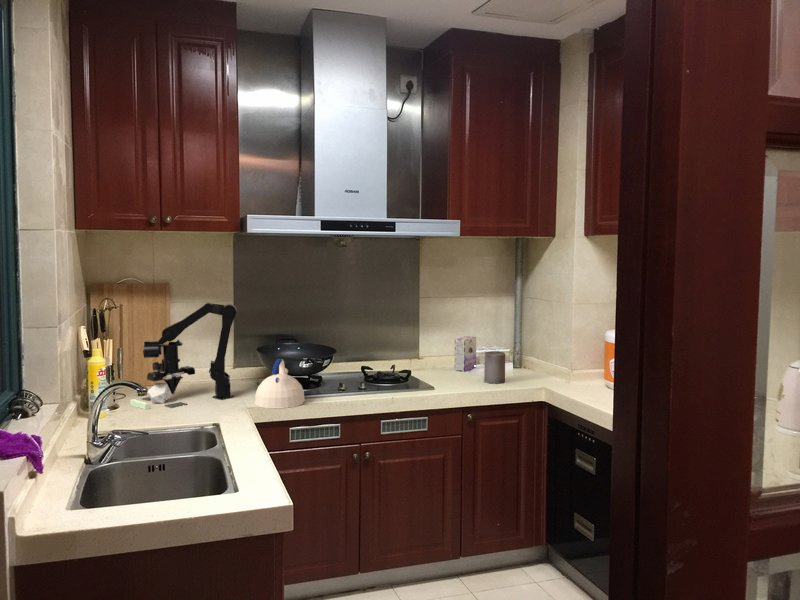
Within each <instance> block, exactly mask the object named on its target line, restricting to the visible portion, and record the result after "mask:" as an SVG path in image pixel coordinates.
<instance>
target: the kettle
mask: <svg viewBox="0 0 800 600" xmlns="http://www.w3.org/2000/svg"><path fill="white" fill-rule="evenodd" d="M271 371H272V372H271V375H270V376H267V377H266V378H264V379H263V380H262V381H261V383H260V384H259V385H258V386H257V389H256V392H255V398H254V405H255V404H256V405H258V406H257V407H260V408H261V409H262V408H263V409H264V408H265V409H273V410H274V409H290V408H294V407H299V406H301V405H303V404H304V403H305V402H306V400H305V399H306V398H305V390H304V388H303V385H302V384H301V383H300V382H299V381H298V379H296V378H294V376H292V375H289V374H288V373H289V369H288V368H286V367H285V361H284V359H283V358H277V359H276V360H275V362H274V364H273V367H272V370H271ZM304 401H305V402H304ZM303 402H304V403H303Z"/></svg>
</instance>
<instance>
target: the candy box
mask: <svg viewBox="0 0 800 600" xmlns="http://www.w3.org/2000/svg"><path fill="white" fill-rule="evenodd" d="M474 365H476V366H477V336H473V335H472V336H470V335H469V336H468V335H465V336H463V337H459V338H456V339H454V372H455V371H456V372H463V373H464V372H468V371H469V370H473V369H475V368H474Z"/></svg>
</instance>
